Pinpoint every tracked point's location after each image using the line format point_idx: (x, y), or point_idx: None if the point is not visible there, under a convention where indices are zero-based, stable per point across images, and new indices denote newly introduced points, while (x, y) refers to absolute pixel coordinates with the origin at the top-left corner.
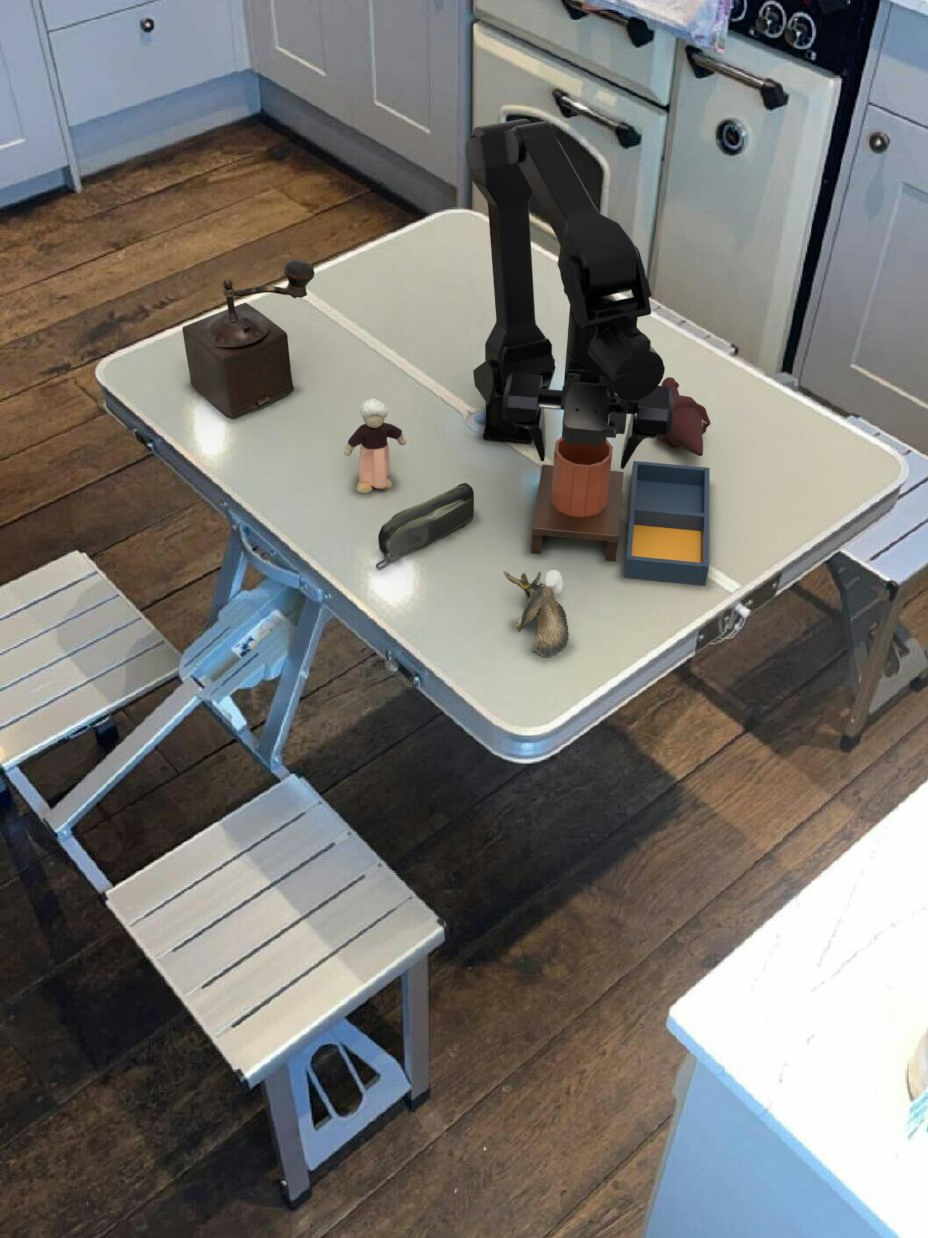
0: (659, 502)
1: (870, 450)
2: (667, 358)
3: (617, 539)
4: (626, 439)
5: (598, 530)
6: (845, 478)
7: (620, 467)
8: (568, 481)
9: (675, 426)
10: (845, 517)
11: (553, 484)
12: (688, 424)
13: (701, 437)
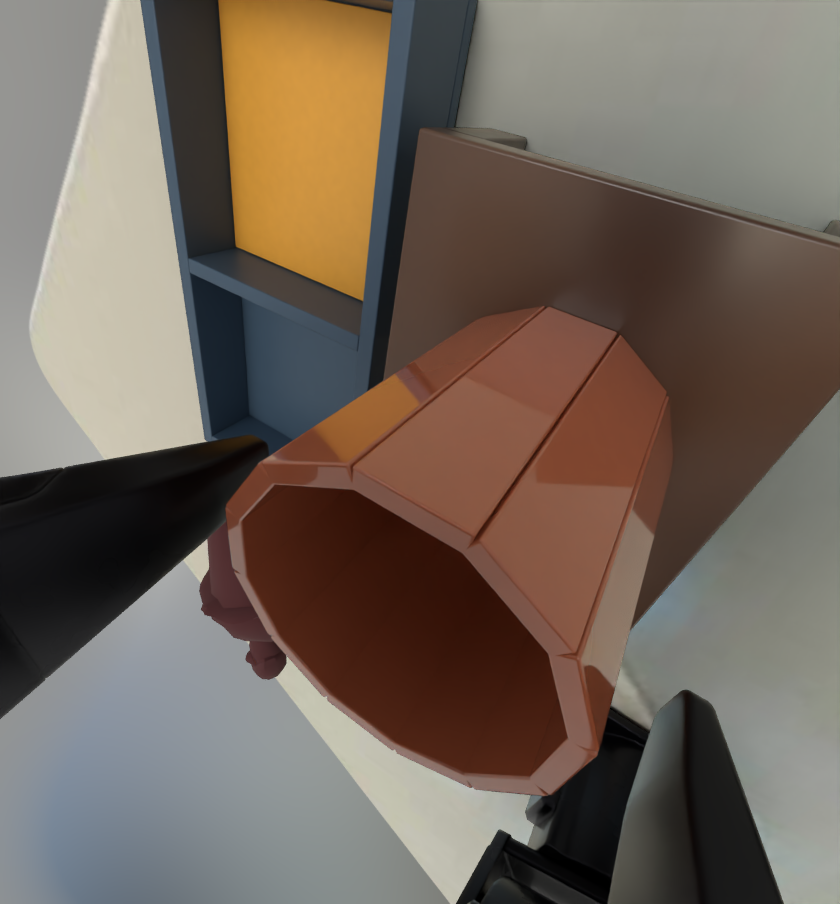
0: (328, 391)
1: (71, 410)
2: (312, 692)
3: (432, 127)
4: (92, 567)
5: (504, 187)
6: (76, 360)
7: (260, 445)
8: (573, 460)
9: None
10: (47, 255)
11: (654, 517)
12: (219, 562)
13: None
